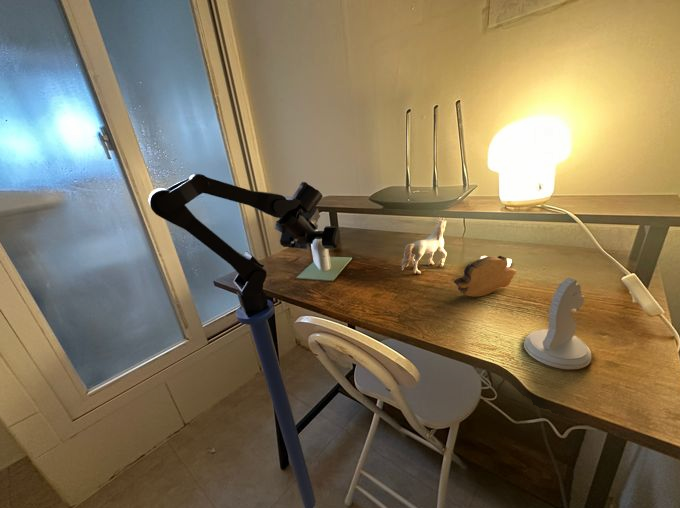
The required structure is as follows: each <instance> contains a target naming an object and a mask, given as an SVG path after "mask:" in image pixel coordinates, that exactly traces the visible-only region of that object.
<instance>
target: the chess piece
mask: <svg viewBox="0 0 680 508" xmlns="http://www.w3.org/2000/svg"><path fill="white" fill-rule="evenodd" d="M584 300H585V295H583V294H582V287H581V285H580V284H579V283H578V281H577V279H574V278H571V277H567V278H565V279H564V280H563V281H562V282H561V283H560V284H559V285H558V287H557V288H556V290H555V291H554V294H553V296H552V300H551V301H550V305H549V309H548V328H542V329H537V330H535V331H532V332H530V333H529V334H528V335H526V337H525V339H524V341H523V346H524V350H525V351H526V352H527V354H528V355H529V356H531V358H533V359H534V360H536V361H538V362H540V363H542V364H544V365H546V366H549V367H552V368H557V369H561V370H579V369H584V368H585V367H587V366H588V365H589V364H590V363H591V361H592V352H591V349H590V348H589V347H588V345H587V344H586V343H585V342H584V341H583V340H582V339H580V338H579V337H578V336H576V335H575V334H576V332H577V329H578V324H577V321H576V319H575V317H574V315H573V313H572V311H574V312H580V308H582V307H583V305H584V302H585V301H584Z"/></svg>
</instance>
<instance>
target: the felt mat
mask: <svg viewBox="0 0 680 508" xmlns="http://www.w3.org/2000/svg"><path fill="white" fill-rule="evenodd" d="M329 257H330V264H331V268H330V269H329V270H327V271H321V270H319V268H318V267H317V266H316V265H315V263H314V261H313V262H311V263H310V264H309V265H308V266H307V267H306V268H305V269H304V270H303V271H301V272H300V273H299V274H298V275H297V276H296V277H295V279H297V280H308V281H309V280H311V281H322V282H324V281H325V282H333V281H335V280H336V278H337V277H338V276H339V275H340V274H341V272H342V271H343V270H344V269H345V267H346V266H347V265H348V264H349V263H350V262H351V261H352V259H353V257H352V256H351V257H349V256H329Z"/></svg>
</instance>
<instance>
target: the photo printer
mask: <svg viewBox="0 0 680 508" xmlns="http://www.w3.org/2000/svg"><path fill="white" fill-rule="evenodd" d="M315 231H320V230H318V229H316V230H315ZM310 246H311V254H312V260H313V262H314V263H315V265H316V266H317V267H318V268H319V270H321V271H327V270H329V269H330V268H331V264H330V257H331V256H330V251H329V250H330V249H325V248H324V247H323V246H322V239H315V240H313V244H310Z"/></svg>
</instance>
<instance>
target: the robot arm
mask: <svg viewBox="0 0 680 508" xmlns="http://www.w3.org/2000/svg"><path fill="white" fill-rule="evenodd" d="M202 194H206V195H210V196H213V197H215V198H216V197H217V198H220V199H225V200H228V201H232V202H235V203H238V204H243V205H245V206H249V207H251V208H253V209H255V210H257V211H260V212H261V213H264V214H266V215H268V216H271V217H273V218H275V219H277V220H276V221H275V225H274V229H275V230H277V231H278V232H280V233H281V234H280V238H279V244H280V245H281V247H283V248H291V249H302V250H308V249H309V245H311V244H313V240H315V239H322V246H323V247H324V248H325V249H329V250H332V251H334V249H336V248H337V247H338V243H339V239H340V233H341V230H340V229H339V227H338V226H337V225H326V226H324V228H323V230H319V231H315V230H318V228H319V225H318V224H317V223H318V221H319V219H320V218H321V215H320V212H319V209H318V207H317V206H318V204H319V203H320V201H321V200H322V198H323V194H322V192H321V191H319V189H316V188H315V187H314V186H312V185H310V184H308V183H307V182H306V181H301V183H300V184H299V186H298V188H297V190H295V192H294V194H293V195H292V196H284V195H283V194H279V193H275V192H274V193H273V192H268V191H259V190H258V191H257V190H250V189H247V188H244V187H240V186H238V185H234V184H230V183H227V182H224V181H221V180H217V179H214V178H211V177H207V176H206V175H204V174H202V173H193V174H191V175H190V176H189V177H187V178H186V179H184V180H181V181H179V182H177V183H175V184H173V185H171V186H169V187H167V188H166V187H159V188H155V189H154V190H152V191H151V192H150V194H149V195H148V203H149V207H150V209H151V210H152V212H153V213H154V214H155V215H156V216H158V217H160V218H161V219H163V220H165V221H167V222H169V223H171V224H172V225H174V226H176V227H179V228H181V229H183V230H185V231H187V233H189V234H190V235H192V237H194V238H195V239H196V240H198V241H199V242H200V243H201V244H203V245H204V246H205V247H207V248H208V249H209V250H211V251H212V252H213V253H215V254H216V255H217V256H219V257H220V258H221V259H223V261H225V262H226V263H227V264H229V265H230V266H231V267H232V269H234V270H235V272H236V273H237V274H236V276H235V278H234V279H233V281H232V283H233V284H234V285H235V287H236V288H237V290H238V291H236V295H237V298H238V301H239V305H240V306H241V307H240V306H239V307H240V310H241V311H242V312H243V313H244V314H245V315H246V316H247V317H251V316H253V315H255V314H258V313H260V312H262V311H264V310H267V309H269V306H268V305H267V304H268V301H267V300H268V298H267V293H266V291H265V290H264V283H265V282H266V279H267V271H266V269H265V265H264V264H263V263H262V262H261V261H259V260H258V259H257V258H256V257H255V256H254V255H252V254H251V253H250V252H248V251H247V250H246V251H244V254H243V253H240V252H239V251H237V250H236V249H234V248H233V247H232V246H231V245H229V244H228V242H226V241H225V240H224V239H223V238H221V237H220V236H219V235H217V233H215V232H214V231H213V230H212V229H210V228H209V227H208V226H207V225H205V224H204V223H203V222H202V221H200V220H199V219H198V218H197V217H196V216H195V215H194V214H193V213H192V211H191V210H190V209H189V208H188V207H187V206H186V205H187V204H189V203H190V202H192V201H193V200H195V199H196V198H197V197H199V196H200V195H202Z"/></svg>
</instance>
